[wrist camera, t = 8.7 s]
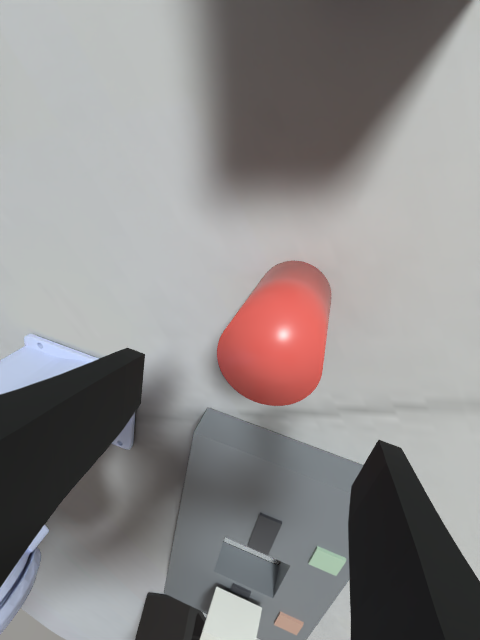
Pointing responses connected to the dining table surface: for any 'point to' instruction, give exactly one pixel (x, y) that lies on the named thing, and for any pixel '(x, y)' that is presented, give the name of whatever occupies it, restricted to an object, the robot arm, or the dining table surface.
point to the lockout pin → (278, 336)
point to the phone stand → (169, 620)
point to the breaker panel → (262, 525)
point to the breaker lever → (231, 618)
